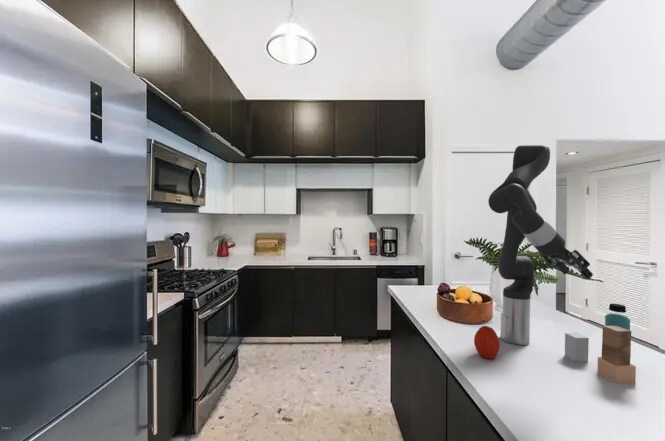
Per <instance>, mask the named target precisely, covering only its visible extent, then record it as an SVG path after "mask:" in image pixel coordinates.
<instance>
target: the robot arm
mask: <svg viewBox="0 0 665 441" xmlns="http://www.w3.org/2000/svg"><path fill="white" fill-rule="evenodd" d="M550 159H551V149H550V147H549V146H547V145H543V144H534V145H533V144H532V145H529V144H528V145H527V144H525V145H523V144H522V145H518V146H516V147H515V150H514V153H513V157H512V171H510V172H509V174H508V175H507V177H506V178H505V180H504V181H503V183H501V184H500V185H499V186H497V187H496V189H495V190H493V191H492V192H491V193H490V195H489V196H488V200H487V201H488V203H487V204H488V206H489V208H490V210H491V211H493V212H494V213H497V214H505V213H507V214H506V226H505V233H504V239H503V242H502V244H503V245H502V249H501V251H500V256H499V261H498V272H499V275H500V276H501V278H503V279H504V280H512V281H513V280H514V281H513V283H511V284H509V285H507V286H505V287H504V288H503V290H502V312H501V313H500V338H501V339H502V340H503V341H504V342H505V343H508V344H514V345H518V346H519V345H520V346H527V345H529V344H530V339H531V338H530V335H531V334H530V330H531V329H530V328H531V327H530V326H531V320H530V319H531V296H532V295H531V294H532V292H533V290H534V280H535V279H534V277H535V267H534V263H533V260H532V259H531V258H530V257H529V256H526V255H518V251H519V248H520V246H521V244H522V242H523V241H524V240H525V239H526V240H527V242H529V243H530V245H532V246H533V247H534V248H535V250H536V251H537V252H538V254H540V256H541V257H542V258H543V259H544V260H545V261H546V262H547V264H550V265H551V264H552V265H553V266H554V267H556V268H557V269H558V270H559V271H560V272H561V273H562V274H564V275H567V274H568V273H569V272H570V271H571V270H570V268H574V269H576V270H577V272H579V273H580V274H581V275H582V277H584V279H587V280H590V279H591V278H592V277H593V275H594V274H593V272H592V271H591V270H590V269H589V268H588V267H589V266H590V265H591V263H590V262H589V261H588V260H587V259H586V258H585V257H584V256H583V255H582V254H581V253H580V252H579V251H578V250H576V249H574V250H572V251H570V250H569V249H567V248H566V240H565V239H564V238H563V237H562V236H561V234H559V232H557V230H555V228H554V227H553V226H552V225H551V224H550V223H549V222H547V221H546V220H545V219H544V218H543V217H542V216H541V215H540V213H538V211H537V208H538V207H537V204H536V201H535V199H534V198H533V196H532V194H531V192H530V191H529V187H530V185H531V184H532V182H533V181H534V180H535V179H536V178H537V177H539V176H540V175H541V174H542V173H543V172H544V171H545V170H546V169H547V167H548V166H549V163H550ZM570 261H571V262H570ZM569 267H570V268H569Z"/></svg>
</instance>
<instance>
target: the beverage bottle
mask: <svg viewBox="0 0 665 441" xmlns="http://www.w3.org/2000/svg"><path fill="white" fill-rule="evenodd" d="M608 311H611V312H610V313H609V312H608V313H607V314H606V315H604V326H618V327H621V328H624V329H627V330H630V331H631V319H630V318H629V317H628V316H627V315H624V314H621V313H627V309H626V306H625V305H624V304H620V303H609V306H608ZM631 356H632V354H631V351H630V363H631V360H632V359H631Z"/></svg>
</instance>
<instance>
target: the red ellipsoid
mask: <svg viewBox="0 0 665 441" xmlns="http://www.w3.org/2000/svg"><path fill="white" fill-rule="evenodd" d="M473 343H474V347H475V350H476V351H477V353H478V354H479V355H480V357H482V358H485V359H488V360H494V359H495V358H496V357H497V356H498V355H499V354H498V353H499V352H500V347H501V344H500V339H499V336H498V334H497V332H496V331H495V330H494V328H492V327H490V326H488V325H483V326H481V327H479V328H478V330H476V332H475V335H474V338H473Z"/></svg>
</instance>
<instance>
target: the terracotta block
mask: <svg viewBox="0 0 665 441" xmlns="http://www.w3.org/2000/svg"><path fill="white" fill-rule="evenodd" d="M636 370H637V369H636V365H634V364H632V363H630V365H615V364H613V363H611V362H609V361H607V360H605V359H603V358H602V356H598V357H597V374H599V375H601V376H603V377H604V378H607V379H608V380H610V381H612V382H613V383H615V384H632V383H633V384H635V383H636V374H637V373H636V372H637V371H636Z"/></svg>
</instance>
